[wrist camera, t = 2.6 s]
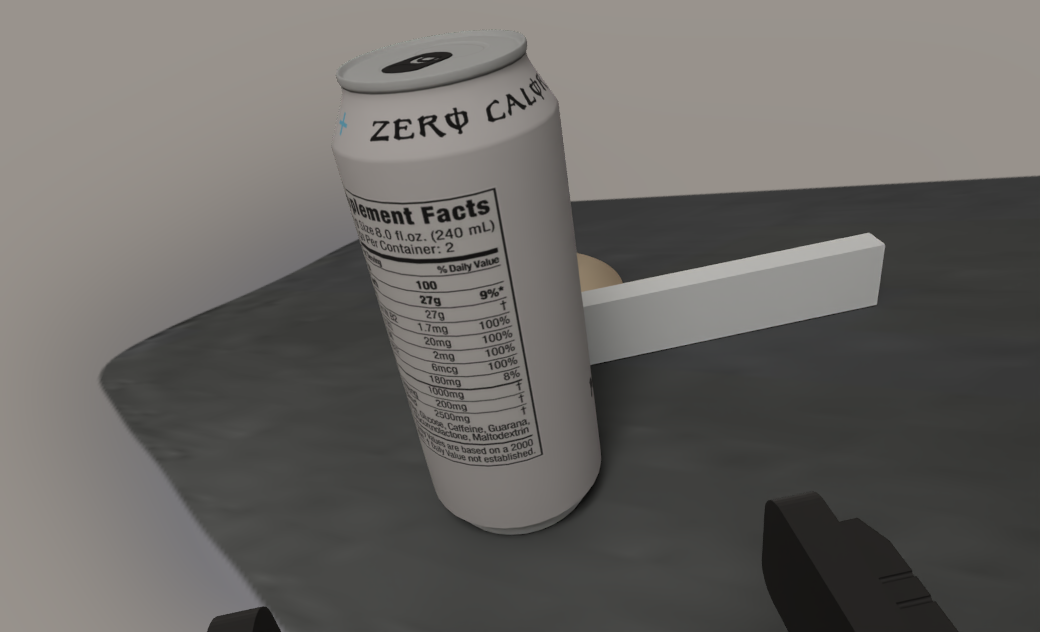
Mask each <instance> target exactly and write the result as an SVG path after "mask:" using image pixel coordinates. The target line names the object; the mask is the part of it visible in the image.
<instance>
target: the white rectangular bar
mask: <svg viewBox="0 0 1040 632" xmlns="http://www.w3.org/2000/svg"><path fill="white" fill-rule="evenodd" d="M884 249H885V244H884V243H882V242H881V241H880V240H878V239H877V238H875V237H874V236H873V235H871V234H870V233H866V234H861V235H856V236H851V237H846V238H842V239H837V240H832V241H827V242H822V243H817V244H812V245H807V246H803V247H798V248H793V249H788V250H783V251H778V252H773V253H769V254H764V255H759V256H754V257H749V258H744V259H739V260H735V261H730V262H725V263H720V264H715V265H710V266H705V267H701V268H696V269H691V270H686V271H681V272H676V273H671V274H666V275H662V276H657V277H652V278H647V279H642V280H637V281H632V282H628V283H623V284H618V285H613V286H608V287H603V288H598V289H594V290H589V291H584V292H581V293H582V301H583V310H584V318H585V326H586V334H587V343H588V351H589V359H590V365H592V364H597V363H602V362H607V361H612V360H616V359H621V358H626V357H631V356H635V355H640V354H645V353H650V352H654V351H659V350H664V349H669V348H673V347H678V346H683V345H688V344H692V343H697V342H702V341H707V340H711V339H716V338H721V337H726V336H730V335H735V334H740V333H745V332H749V331H754V330H759V329H764V328H768V327H773V326H778V325H783V324H787V323H792V322H797V321H802V320H806V319H811V318H816V317H821V316H825V315H830V314H835V313H840V312H845V311H849V310H854V309H859V308H864V307H868V306H873V305H877V299H878V292H879V285H880V278H881V270H882V263H883V256H884Z"/></svg>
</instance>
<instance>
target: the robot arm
mask: <svg viewBox="0 0 1040 632" xmlns="http://www.w3.org/2000/svg"><path fill="white" fill-rule="evenodd" d="M762 569H763V574H764V579H765V582H766V586H767V589H768V591H769V594H770V596H771V599H772V601H773V603H774V605H775V607H776V609H777V611H778V612H779V614H780V616H781V618H782V620H783V622H784V624H785V626H786V628H787V630H788V631H789V632H958V631H957V629H956V628H955V627H954V625H953V624H952V623H951V621H950V620H949V619H948V617H947V616H946V615H945V613H944V612H943V611H942V609H941V608H940V607H939V605H938V604H937V603H936V601H935V602H933V601H932V599H931V595H930V594H929V592H928V591H927V590H926V588H925V587H924V586H923V584H922V583H921V582H920V580H919V579H918V578H917V576H915V577H914V575H913V574H912V570H911V568H910V567H909V566H908V564H907V563H906V562H905V560H904V559H903V558H902V557H901V555H900V554H899V553H898V551H897V550H896V549H895V547H894V546H893V545H892V543H891V542H890V541H889V540H888V539H886V538H885V537H884V536H882V535H881V534H879V533H878V532H877V531H875V530H874V529H872V528H871V527H870V526H868V525H867V524H865V523H864V522H863V521H861V520H860V519H858V518H854V519H850V520H845V521H841V522H839V521H838V520H837V518H836V517H835V515H834V514H833V512H832V511H831V510H830V508H829V507H828V505H827V504H826V502H825V501H824V500H823V498H822V497H821V496H820V495H819V494H818V493H816V492H814V491H810V492H806V493H801V494H796V495H792V496H787V497H782V498H778V499H773V500H769V501H767V502H766V505H765V514H764V532H763V550H762ZM207 632H281V631H280V629H279V627H278V625H277V623H276V621H275V619H274V617H273V615H272V613H271V612H270V610H269V609H268V608H267V607H259V608H255V609H249V610H245V611H240V612H235V613H231V614H226V615H221V616H217V617H215V618H214V619H213V620H212V622H211V623H210V626H209V628H208V631H207Z"/></svg>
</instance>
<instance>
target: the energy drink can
mask: <svg viewBox="0 0 1040 632" xmlns="http://www.w3.org/2000/svg"><path fill="white" fill-rule="evenodd" d="M526 49H527V41H526V37H525V36H524V35H523V34H521V33H518V32H515V31H508V30H474V31H463V32H455V33H448V34H441V35H434V36H429V37H424V38H419V39H414V40H410V41H406V42H401V43H398V44H394V45H390V46H387V47H383V48H380V49H377V50H374V51H371V52H368V53H366V54H363V55H360V56H358V57H356V58H354V59H352V60H349V61H348V62H346V63H345V64H343V65H342V66H341V67H340V68H339V69H338V70H337V72H336V78H337V81H338V83H339V84H340V86H341V87H342V99H341V105H340V109H339V113H338V117H337V122H336V126H335V130H334V135H333V140H332V150H333V153H334V157H335V160H336V164H337V167H338V170H339V174H340V177H341V180H342V183H343V187H344V190H345V193H346V197H347V200H348V203H349V206H350V210H351V213H352V217H353V220H354V223H355V226H356V230H357V233H358V236H359V240H360V243H361V246H362V250H363V253H364V256H365V260H366V263H367V266H368V270H369V273H370V276H371V279H372V283H373V286H374V289H375V293H376V296H377V299H378V303H379V306H380V309H381V313H382V316H383V319H384V322H385V326H386V329H387V332H388V336H389V339H390V342H391V346H392V349H393V352H394V356H395V359H396V362H397V365H398V369H399V372H400V375H401V379H402V382H403V385H404V389H405V392H406V395H407V399H408V402H409V405H410V408H411V412H412V415H413V418H414V422H415V425H416V428H417V432H418V435H419V438H420V442H421V445H422V448H423V452H424V455H425V458H426V461H427V465H428V468H429V471H430V475H431V478H432V481H433V485H434V488H435V490H436V493H437V496H438V498H439V499H440V500H441V502H442V503H443V504H444V506H445V507H446V508H447V509H448V510H450V511H451V512H452V513H453V514H455V515H456V516H457V517H459V518H461V519H463V520H466V521H468V522H470V523H471V524H473V525H474V526H476V527H479V528H481V529H483V530H485V531H489V532H493V533H496V534H507V535H515V534H526V533H530V532H535V531H539V530H541V529H544V528H546V527H549V526H551V525H553V524H555V523H557V522H558V521H560V520H562V519H563V518H565V517H566V516H567V515H568V514H569V513H570V512H572V511H573V510H574V509H575V508H576V506H577V505H578V504H579V502H580V501H581V500H582V498H583V497H584V496H585V494H586V493H587V492H588V491H589V489H590V488H591V487H592V485H593V484H594V482H595V480H596V477H597V475H598V473H599V469H600V464H601V450H600V441H599V433H598V425H597V417H596V408H595V400H594V392H593V384H592V376H591V367H590V359H589V351H588V343H587V334H586V326H585V318H584V310H583V301H582V293H581V285H580V277H579V268H578V260H577V252H576V244H575V235H574V227H573V219H572V211H571V203H570V194H569V187H568V178H567V171H566V162H565V153H564V145H563V137H562V128H561V120H560V112H559V104H558V100H557V99H556V97H555V96H554V94H553V93H552V92H551V90H550V89H549V87H548V86H547V85H546V83H545V82H544V80H543V79H542V78H541V76H540V75H539V74H538V72H537V71H536V69H535V68H534V67H533V65H532V64H531V62H530V60H529V59H528V57H527V54H526Z"/></svg>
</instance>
